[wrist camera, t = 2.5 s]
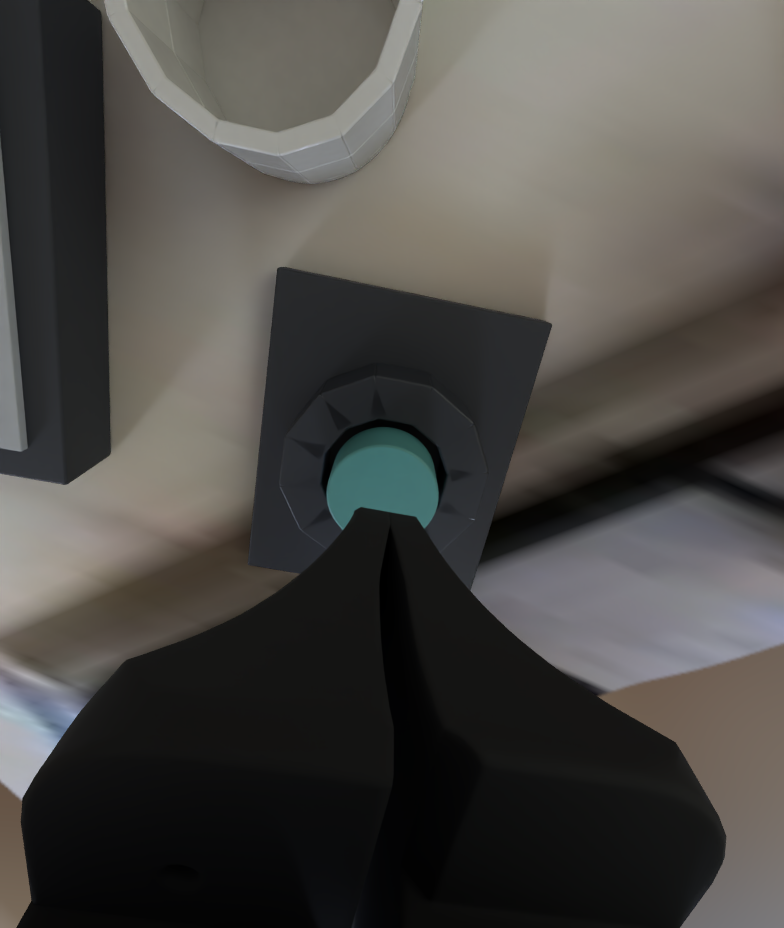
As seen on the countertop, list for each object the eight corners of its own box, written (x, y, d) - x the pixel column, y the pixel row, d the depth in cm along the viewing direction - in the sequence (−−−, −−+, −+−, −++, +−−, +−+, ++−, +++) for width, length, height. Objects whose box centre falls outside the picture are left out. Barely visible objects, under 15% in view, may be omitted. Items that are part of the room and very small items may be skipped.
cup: (393, 203, 14) (392, 181, 10) (185, 158, 14) (92, 115, 9) (438, -57, 12) (461, -227, 8) (195, -119, 11) (80, -334, 7)
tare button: (422, 527, 15) (425, 554, 14) (326, 510, 15) (318, 536, 14) (445, 436, 14) (450, 456, 13) (341, 417, 14) (335, 435, 13)
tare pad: (464, 590, 19) (474, 636, 17) (252, 554, 18) (231, 597, 16) (546, 321, 15) (573, 332, 13) (282, 266, 15) (260, 267, 12)
